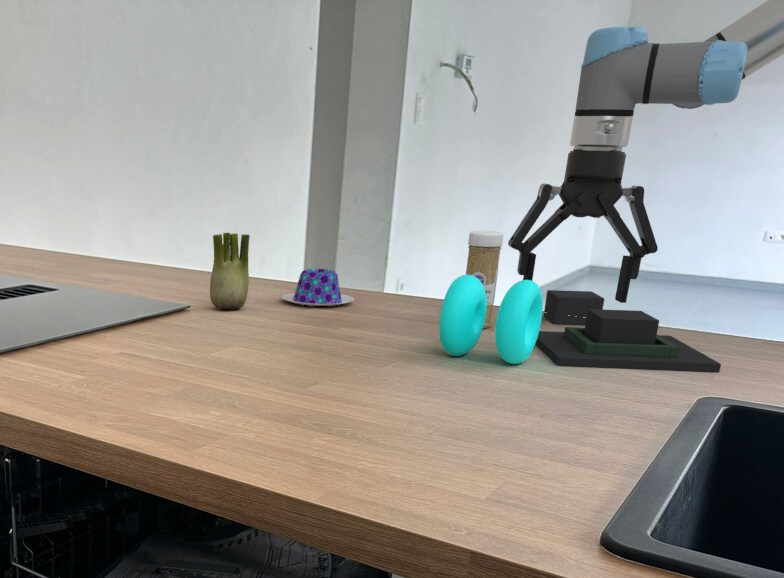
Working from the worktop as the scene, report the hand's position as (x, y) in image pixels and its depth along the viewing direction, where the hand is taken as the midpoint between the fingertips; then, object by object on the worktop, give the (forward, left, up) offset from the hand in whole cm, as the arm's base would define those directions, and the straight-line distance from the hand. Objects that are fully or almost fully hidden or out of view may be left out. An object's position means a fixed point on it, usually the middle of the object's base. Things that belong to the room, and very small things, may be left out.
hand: (572, 299), depth 129 cm
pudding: (+38, -9, -3) cm, 39 cm away
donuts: (+17, +28, -3) cm, 33 cm away
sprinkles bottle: (+15, +7, -3) cm, 17 cm away
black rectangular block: (0, +22, -2) cm, 22 cm away
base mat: (0, +22, -3) cm, 22 cm away
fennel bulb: (+52, 0, -3) cm, 52 cm away
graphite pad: (0, 0, -3) cm, 3 cm away
